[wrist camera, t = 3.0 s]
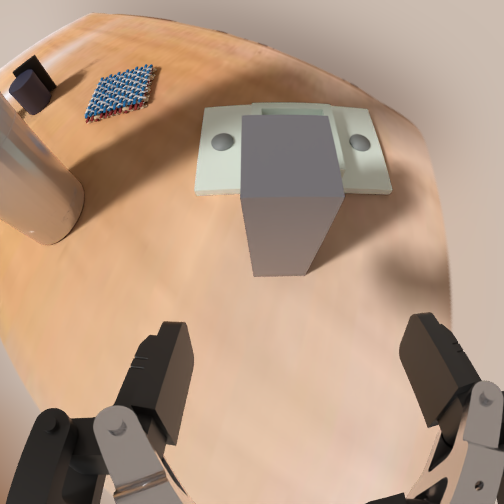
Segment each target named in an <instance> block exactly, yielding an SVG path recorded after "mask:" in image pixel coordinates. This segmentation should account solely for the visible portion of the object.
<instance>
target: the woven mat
mask: <svg viewBox="0 0 504 504" xmlns="http://www.w3.org/2000/svg"><path fill="white" fill-rule="evenodd" d="M154 72H156V68H153V65H150V66H149V67H148V68H147V64H146V65H145V66H144V69H143V67H141V68H140V69H139V70H138V67H136V68H135V71H134V69H133V70H132V71H130V72H129V69H128V70H126V73H125V72H123V74H121V75H120V72H118V74H117V75H114V76H113V77H112V74H111V75H110V76H109V78H108V77H106V79H104V77H102V78H101V81H100V82H99V83H98V84H97V85H98V86H97V87H98V88H97V89H96V90H94V91H95V92H94V95H92V97H93V98H92V99H91V101H89V102H90V104H89V105H90V106H89V107H88V108H86V109H88V110H87V111H86V112H85V113H86V114H84V115H85V119H87V120H86V123H87V124H89V123H92V122H95V121H98V120H102V119H105V118H108V117H111V116H115V115H119V114H122V113H124V112H125V113H127V112H128V111H129V112H130V111H134V110H138V109H142V108H145V107H147V105H143V104H144V103H145V102H148V99H149V98H148V97H150V95H146V94H148V93H149V92H150V91H151V90H150V87H151V86H149V85H150V84H151V83H152V82H150V81H151V80H153V79H154V76H155V74H154V75H151V74H152V73H154ZM103 79H104V80H103ZM145 95H146V96H145ZM139 104H140V105H139ZM138 105H139V106H138ZM142 105H143V106H142ZM133 106H135V107H133ZM118 110H119V111H118ZM117 111H118V112H117ZM108 113H109V114H108ZM103 114H105V115H103ZM90 118H91V120H90Z"/></svg>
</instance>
